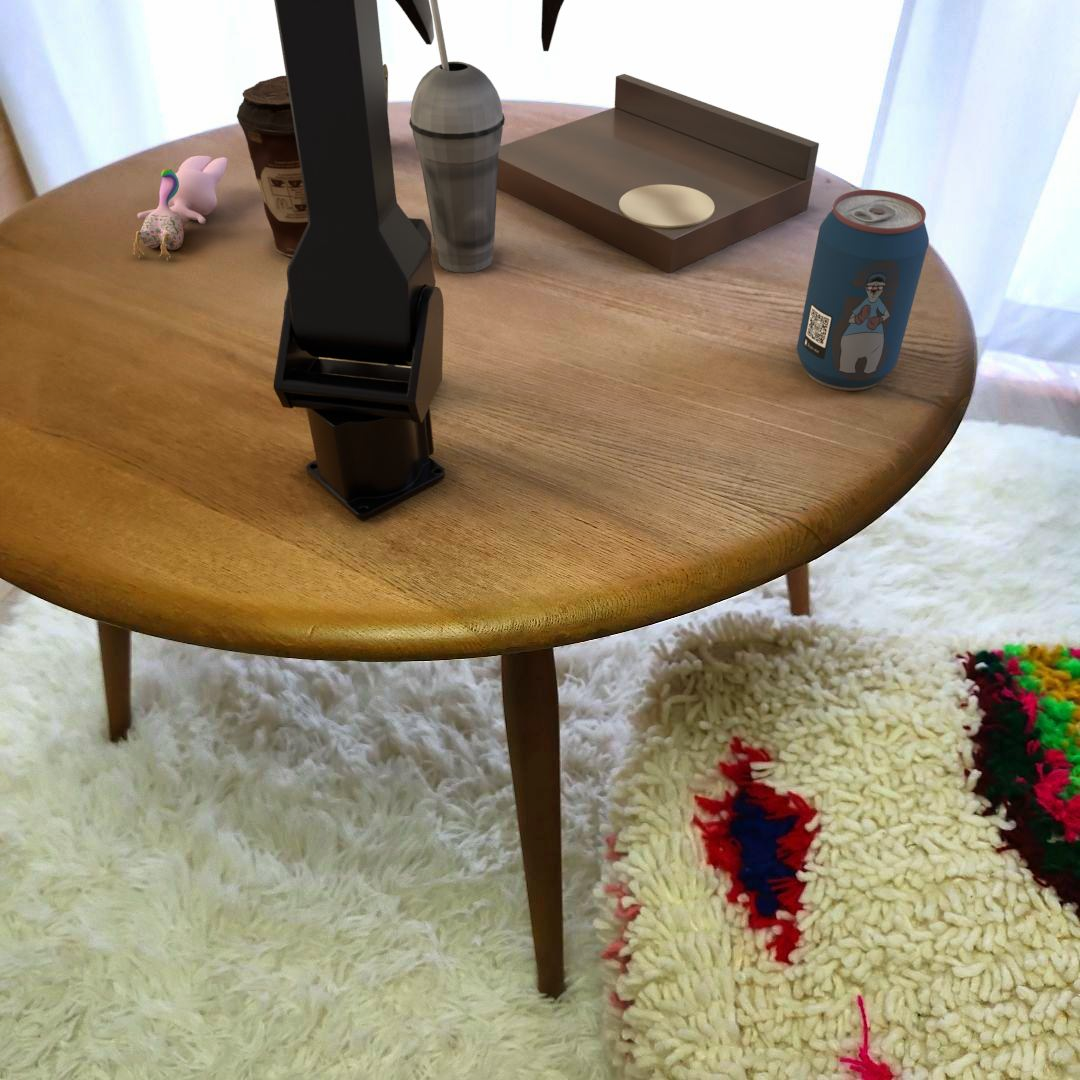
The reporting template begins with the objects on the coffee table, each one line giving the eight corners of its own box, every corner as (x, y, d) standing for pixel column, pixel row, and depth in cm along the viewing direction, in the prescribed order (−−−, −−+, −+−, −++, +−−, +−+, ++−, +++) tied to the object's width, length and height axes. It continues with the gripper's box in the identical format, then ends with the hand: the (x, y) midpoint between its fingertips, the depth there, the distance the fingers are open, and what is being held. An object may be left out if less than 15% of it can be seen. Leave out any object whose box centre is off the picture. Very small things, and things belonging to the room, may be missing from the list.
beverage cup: (498, 284, 83) (487, 16, 69) (411, 276, 84) (384, 10, 70) (517, 243, 88) (511, -14, 74) (435, 236, 89) (414, -18, 76)
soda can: (847, 333, 77) (882, 177, 69) (914, 378, 72) (960, 217, 64) (773, 358, 74) (801, 199, 66) (838, 406, 70) (876, 242, 62)
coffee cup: (373, 257, 86) (353, 98, 77) (275, 275, 84) (242, 114, 75) (348, 215, 92) (327, 63, 83) (255, 231, 90) (224, 76, 81)
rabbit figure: (192, 276, 87) (254, 176, 96) (170, 215, 82) (236, 116, 91) (124, 270, 88) (191, 172, 97) (98, 209, 83) (171, 112, 92)
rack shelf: (669, 273, 84) (675, 203, 80) (485, 182, 97) (482, 118, 93) (807, 209, 93) (819, 143, 88) (621, 134, 106) (624, 73, 102)
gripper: (626, -237, 69) (622, -8, 82) (360, -242, 71) (397, -19, 84) (602, -158, 63) (602, 76, 76) (313, -166, 65) (361, 61, 79)
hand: (488, 44), depth 79 cm, fingers open, 9 cm apart
